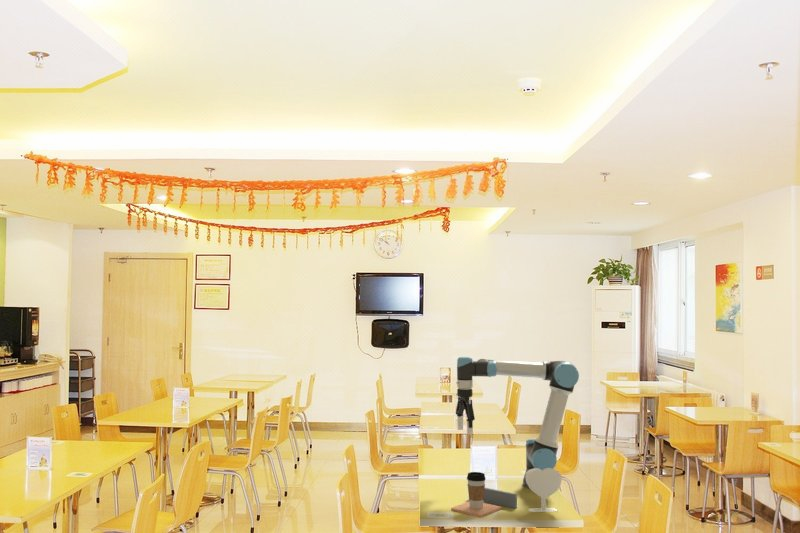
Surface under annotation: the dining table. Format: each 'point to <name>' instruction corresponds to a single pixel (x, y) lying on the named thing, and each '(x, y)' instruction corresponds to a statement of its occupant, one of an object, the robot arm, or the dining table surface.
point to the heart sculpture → (543, 485)
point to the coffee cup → (476, 489)
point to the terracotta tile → (476, 512)
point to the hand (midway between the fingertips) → (465, 432)
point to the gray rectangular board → (500, 497)
